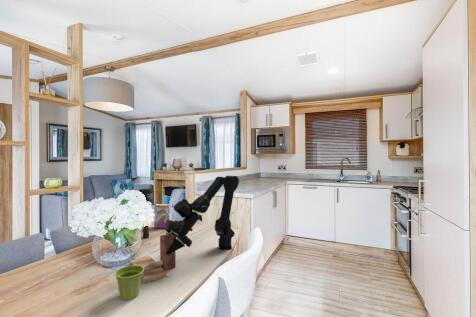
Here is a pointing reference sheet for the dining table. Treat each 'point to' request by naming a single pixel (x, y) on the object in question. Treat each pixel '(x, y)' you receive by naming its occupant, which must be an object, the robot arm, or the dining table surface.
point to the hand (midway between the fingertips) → (164, 252)
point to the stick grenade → (149, 197)
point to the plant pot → (129, 281)
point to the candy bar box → (162, 215)
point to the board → (149, 273)
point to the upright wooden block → (164, 254)
